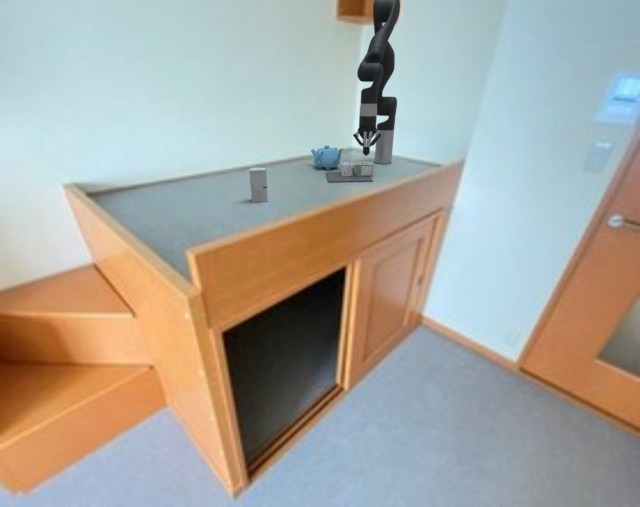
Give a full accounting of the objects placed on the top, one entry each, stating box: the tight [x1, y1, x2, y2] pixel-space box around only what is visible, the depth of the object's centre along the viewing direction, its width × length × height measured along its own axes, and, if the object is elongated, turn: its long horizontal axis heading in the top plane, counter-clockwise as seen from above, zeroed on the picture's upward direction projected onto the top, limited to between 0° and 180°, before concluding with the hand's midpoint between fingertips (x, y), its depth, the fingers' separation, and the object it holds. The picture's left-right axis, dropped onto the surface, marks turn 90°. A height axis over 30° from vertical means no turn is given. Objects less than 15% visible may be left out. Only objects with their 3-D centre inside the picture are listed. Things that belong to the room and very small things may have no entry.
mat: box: [325, 171, 374, 184], centre depth 165 cm, size 18×20×1 cm
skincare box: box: [248, 166, 269, 203], centre depth 131 cm, size 6×4×12 cm
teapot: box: [310, 144, 344, 171], centre depth 180 cm, size 15×14×11 cm
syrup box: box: [340, 161, 374, 178], centre depth 164 cm, size 6×6×14 cm
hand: (365, 155), depth 161 cm, fingers closed
